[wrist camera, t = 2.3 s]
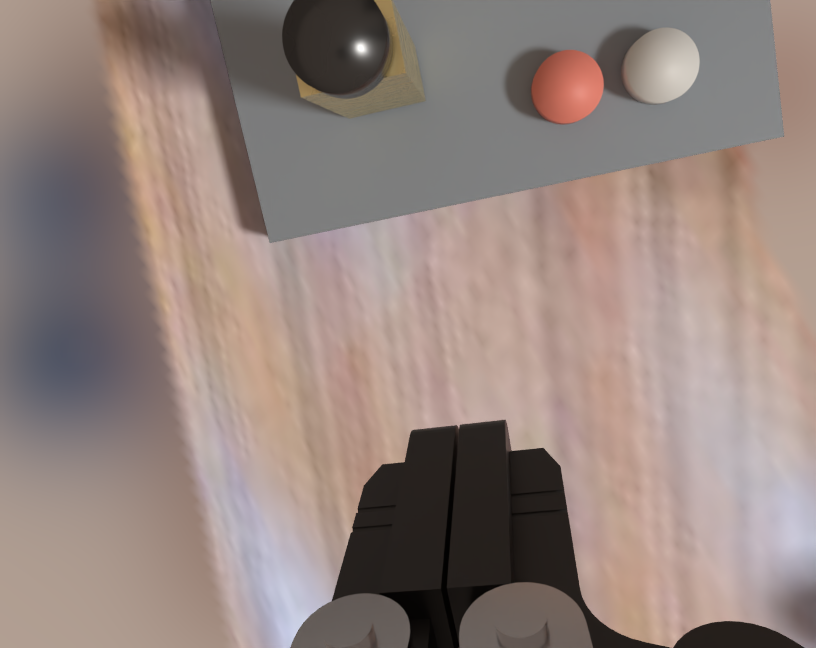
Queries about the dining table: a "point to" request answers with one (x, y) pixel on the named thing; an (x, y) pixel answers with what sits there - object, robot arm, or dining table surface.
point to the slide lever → (352, 55)
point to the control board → (502, 102)
